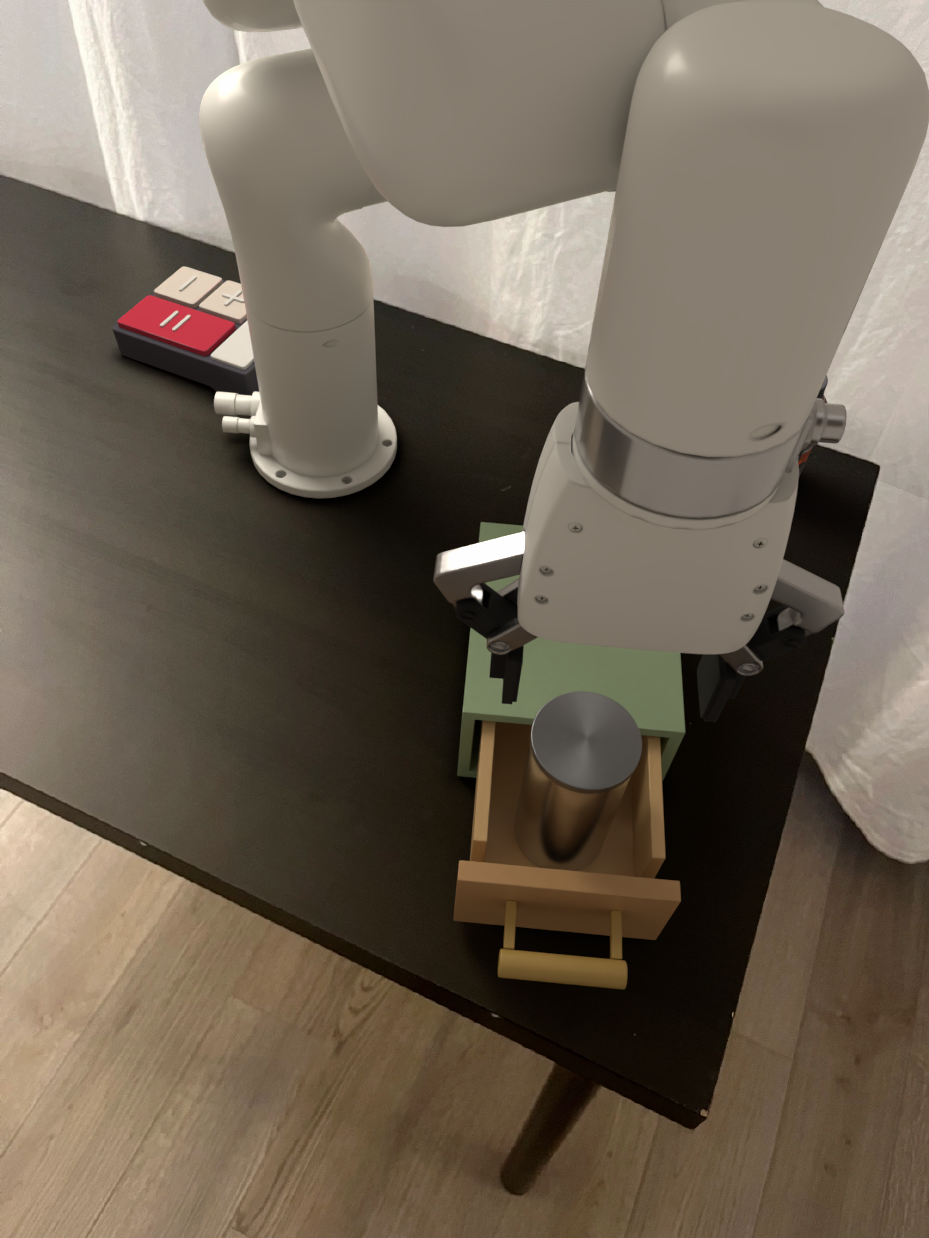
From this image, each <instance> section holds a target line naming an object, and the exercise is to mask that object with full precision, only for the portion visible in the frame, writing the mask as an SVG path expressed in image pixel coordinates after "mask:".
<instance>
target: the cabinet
mask: <svg viewBox="0 0 929 1238" xmlns="http://www.w3.org/2000/svg"><path fill="white" fill-rule="evenodd" d="M522 530H523V525H519V524H510V523H509V524H507V523H496V522H485V521H481V522H480V526H479V533H478V534H479V535H478V543H481V542H485V541H489V540H493V539H497V538H501V537H505V536H509V535H513V534H517V533H521V532H522ZM519 576H520V575H516V576H512V577H508V578H504V579H499V580H495V581H491V582H486V583H485V584H487V585H488V586H489V587H491V588H492V589H493V590H495V591H496V592H497V591H499V590H500V589H502V588H504V587H505V586H507V585H509V584H510V583H512V582H514V581H515V580H517V579H518V578H519ZM469 630H470V631H469V640H468V649H467V651H468V652H467V659H466V661H467V662H466V670H465V671H466V672H465V682H464V693H463V704H462V711H461V713H462V714H461V725H460V735H459V736H460V737H459V749H458V750H459V751H458V761H457V762H458V763H457V773H456V775H457V777H463V778H474V779H477V766H478V754H479V742H480V730H481V720H485V721H495V722H506V723H517V724H528V725H532V724H533V721H534V719H535V716H536V715H537V713H538V712H539V710H540V709H541V708H542V707H543V706H544V705H545V704H546V703H547V702H548V701H550V700H552V699H553V698H555V697H557V696H559V695H562V694H565V693H569V692H577V691H586V692H593V693H597V694H601V695H604V696H606V697H608V698H610V699H612V700H614V701H616V702H617V703H619V704H620V705H621V706H623V707H624V708H625V709H626V710H627V711H628V712H629V713H630V715H631V716H632V717H633V719H634V720H635V722H636V724H637V726H638V728H639V731H640V734H641V735H646V736H657V737H660V746H661V769H662V783H663V782H664V780H665V777H666V775H667V773H668V771H669V769H670V766H671V764H672V762H673V760H674V758H675V756H676V754H677V752H678V750H679V747H680V745H681V744H682V741H683V739H684V737H685V735H686V720H685V719H686V718H685V704H684V689H683V673H682V671H683V670H682V658H681V657H682V656H681V655H682V654H681V653H676V652H663V651H651V650H638V649H627V648H616V647H605V646H594V645H584V644H574V643H565V642H557V641H551V640H546V639H542V638H540V637H538V638H536V639H534V640H532V641H531V642H529V643H527V644H525V645H524V650H523V663H522V670H521V677H520V683H519V689H518V696H517V702H512V704H502V690H503V679H498V678H489V675H490V662H491V652H490V651H488V649H487V639H486V638H485V637H483V636H482V635H480V634H479V633H477V632H476V631H475V630H473V629H472V628H470V627H469Z"/></svg>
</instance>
